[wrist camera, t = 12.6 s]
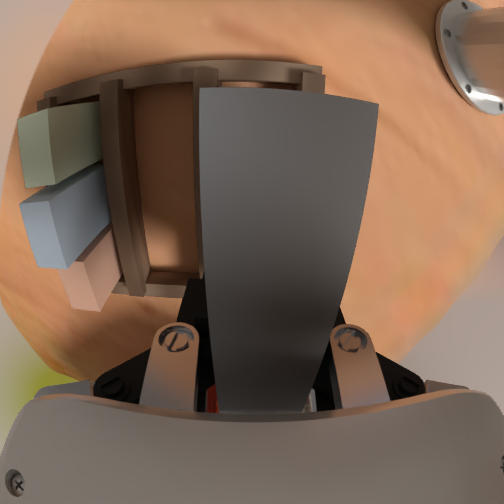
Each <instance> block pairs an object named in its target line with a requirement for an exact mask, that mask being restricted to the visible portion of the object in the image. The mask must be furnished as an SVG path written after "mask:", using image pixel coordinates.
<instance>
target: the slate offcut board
mask: <svg viewBox="0 0 504 504" xmlns="http://www.w3.org/2000/svg"><path fill="white" fill-rule="evenodd" d="M19 205H20V210H21V214H22V217H23V221H24V225H25V228H26V232H27V235H28V239H29V242H30V245H31V248H32V251H33V254H34V257H35V260H36V263H37V265H38V267H44V268H56V269H68V268H69V267H70V266H71V265H72V263H73V262H74V261H75V260H76V259H77V258H78V256H79V255H80V254H81V253H82V252H83V251H84V250H85V248H86V247H87V246H88V245H89V244H90V243H91V242H92V241H93V240H94V238H95V237H96V236H97V235H98V234H99V233H100V232H101V231H102V230H103V229H104V228H105V227H106V226H107V225H108V224H109V222H110V221H111V220H112V218H111V212H110V206H109V200H108V193H107V186H106V179H105V171H104V164H96V165H89V166H87V167H86V168H84V169H82V170H80V171H78V172H76V173H74V174H73V175H71V176H69V177H67V178H66V179H64V180H62V181H60V182H59V183H57V184H54V185H48V186H47V187H45V188H43V189H42V190H40V191H38V192H37V193H35V194H34V195H32V196H31V197H29V198H27V199H26V200H24V201H23V202H21V203H20V204H19Z"/></svg>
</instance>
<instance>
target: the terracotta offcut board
mask: <svg viewBox="0 0 504 504" xmlns="http://www.w3.org/2000/svg"><path fill="white" fill-rule="evenodd" d="M57 270H58V272H59V275H60V278H61V281H62V283H63V286H64V288H65V291H66V293H67V296H68V298H69V301H70V303H71V306H72V308H76V309H83V310H90V311H98V312H100V311H101V310H102V308H103V306H104V304H105V302H106V301H107V299H108V297H109V296H110V294H111V292H112V290H113V289H114V287H115V285H116V284H117V282H118V280H119V279H120V277H121V275H122V274H123V270H122V266H121V261H120V257H119V253H118V248H117V243H116V239H115V234H114V229H113V223H112V221H110V222H109V224H108V225H107V226H106V227H105V228H104V229H103V230H102V231H101V232H100V233H99V234H98V235H97V236H96V237H95V238H94V240H93V241H92V242H91V243H90V244H89V245H88V246H87V247H86V248H85V250H84V251H83V252H82V253H81V254H80V255H79V256H78V258H77V259H76V260H75V261H74V262H73V263H72V265H71V266H70V267H69V268H68V269H57Z"/></svg>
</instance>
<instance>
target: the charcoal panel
mask: <svg viewBox="0 0 504 504" xmlns="http://www.w3.org/2000/svg"><path fill="white" fill-rule="evenodd" d="M378 107H379V104H376V103H372V102H367V101H363V100H357V99H352V98H347V97H341V96H335V95H328V94H321V93H314V92H305V91H296V90H284V89H270V88H247V87H213V88H200V93H199V159H200V197H201V221H202V241H203V257H204V272H205V286H206V298H207V310H208V321H209V331H210V341H211V350H212V359H213V368H214V377H215V385H216V392H217V400H218V407H219V413H223V414H289V413H302V411H303V408H304V406H305V404H306V401H307V399H308V396H309V394H310V391H311V389H312V386H313V384H314V381H315V378H316V376H317V373H318V370H319V368H320V365H321V362H322V359H323V356H324V354H325V351H326V348H327V345H328V342H329V339H330V336H331V333H332V330H333V327H334V323H335V320H336V317H337V314H338V310H339V307H340V304H341V300H342V297H343V293H344V290H345V286H346V283H347V279H348V275H349V271H350V267H351V264H352V260H353V255H354V251H355V247H356V243H357V239H358V234H359V230H360V225H361V220H362V215H363V210H364V205H365V200H366V195H367V189H368V183H369V177H370V171H371V165H372V158H373V151H374V143H375V135H376V127H377V117H378Z"/></svg>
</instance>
